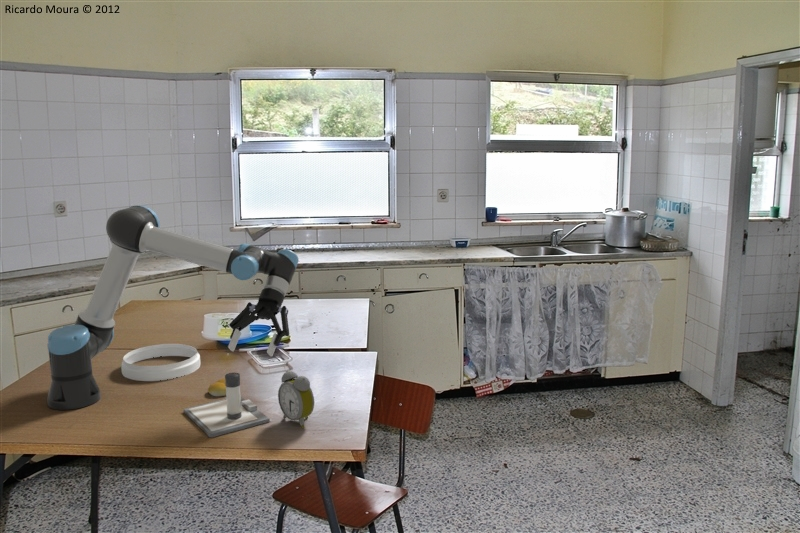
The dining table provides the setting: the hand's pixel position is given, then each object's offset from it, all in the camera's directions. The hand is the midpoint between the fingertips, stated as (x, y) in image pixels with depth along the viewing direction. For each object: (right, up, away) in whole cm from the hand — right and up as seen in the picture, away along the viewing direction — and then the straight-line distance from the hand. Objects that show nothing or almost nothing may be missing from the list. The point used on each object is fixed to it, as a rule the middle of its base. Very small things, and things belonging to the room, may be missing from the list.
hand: (249, 351), depth 200 cm
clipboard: (-7, -19, -2) cm, 20 cm away
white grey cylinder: (-3, -18, -5) cm, 20 cm away
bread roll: (-13, -16, +17) cm, 27 cm away
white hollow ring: (-41, -11, +40) cm, 58 cm away
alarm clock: (+16, -20, -6) cm, 26 cm away
